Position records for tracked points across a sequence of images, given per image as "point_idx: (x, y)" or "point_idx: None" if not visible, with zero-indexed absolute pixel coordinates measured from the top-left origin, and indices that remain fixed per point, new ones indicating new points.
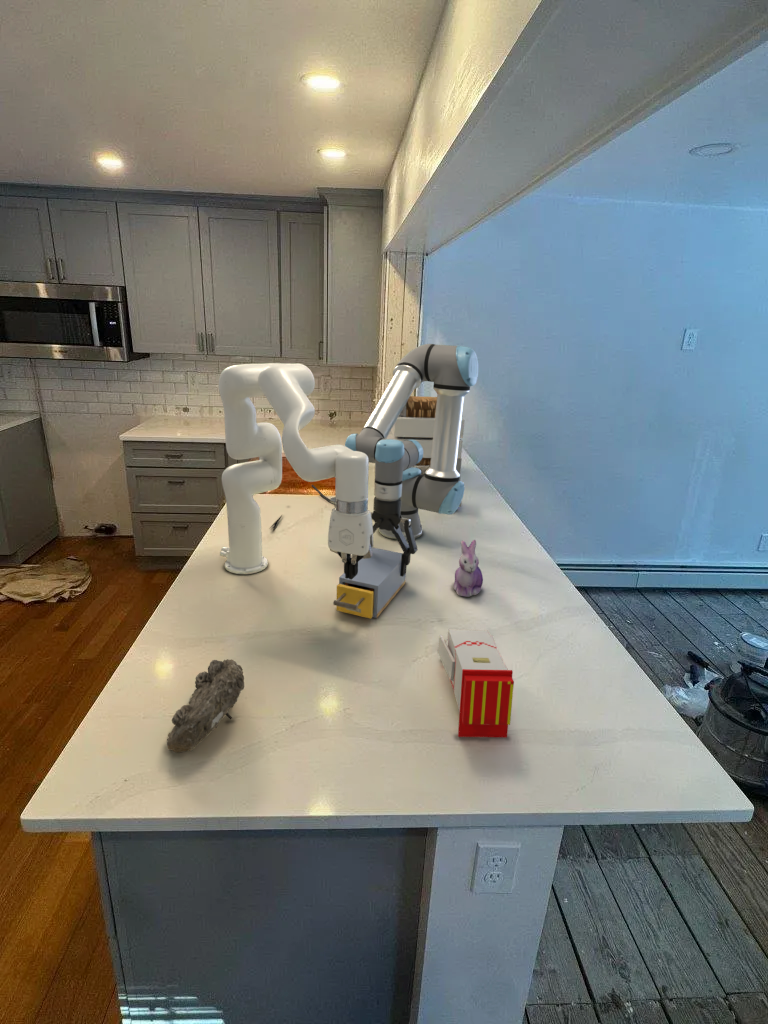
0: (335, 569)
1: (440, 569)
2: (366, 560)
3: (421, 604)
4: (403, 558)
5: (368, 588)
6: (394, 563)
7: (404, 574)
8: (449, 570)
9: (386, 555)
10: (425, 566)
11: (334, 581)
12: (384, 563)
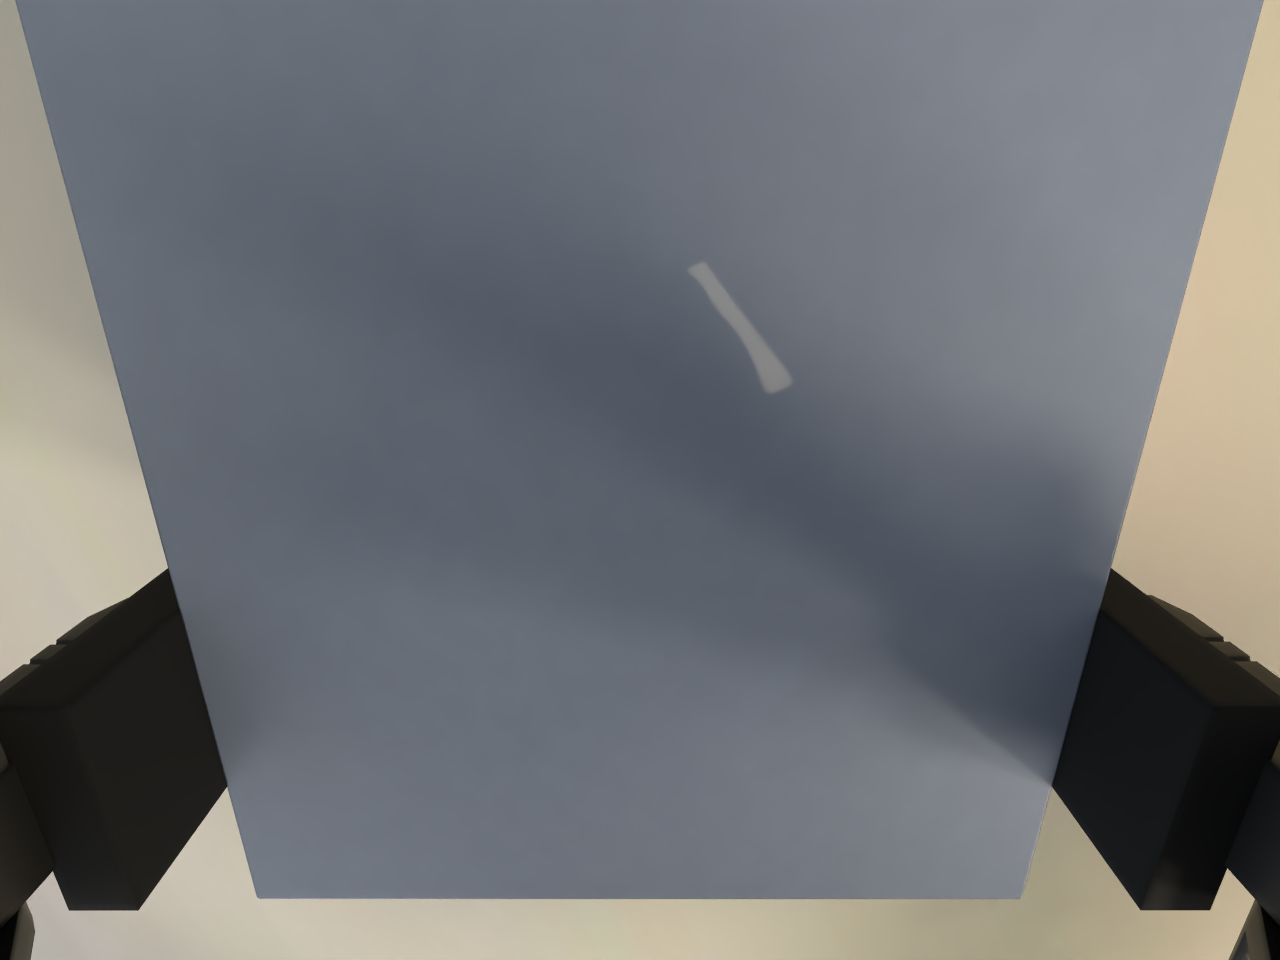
0: (1276, 553)
1: (278, 939)
2: (975, 211)
3: (8, 176)
4: (80, 643)
5: None
6: (212, 381)
7: None
8: (202, 951)
9: (597, 696)
10: (422, 938)
11: (1237, 263)
12: (441, 262)
